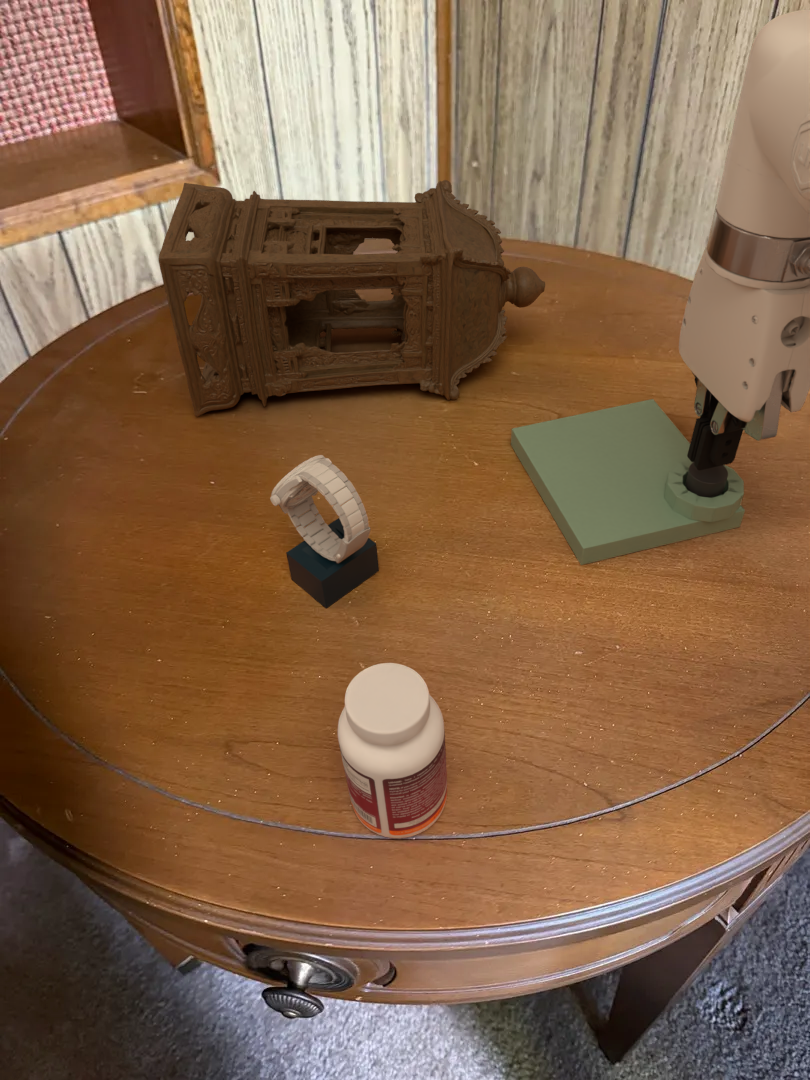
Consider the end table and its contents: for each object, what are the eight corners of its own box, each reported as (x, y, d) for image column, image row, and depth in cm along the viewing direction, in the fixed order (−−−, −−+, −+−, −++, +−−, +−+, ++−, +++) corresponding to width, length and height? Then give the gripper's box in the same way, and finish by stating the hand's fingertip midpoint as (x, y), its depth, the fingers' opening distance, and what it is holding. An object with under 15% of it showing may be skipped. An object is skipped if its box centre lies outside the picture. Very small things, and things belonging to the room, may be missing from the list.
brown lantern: (527, 337, 96) (539, 164, 84) (552, 415, 82) (571, 219, 70) (216, 348, 95) (187, 175, 84) (188, 427, 81) (148, 232, 70)
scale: (748, 529, 69) (758, 497, 67) (583, 569, 67) (587, 538, 65) (654, 414, 81) (660, 383, 78) (510, 444, 78) (512, 414, 76)
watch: (329, 532, 71) (312, 428, 64) (393, 582, 67) (384, 476, 59) (275, 567, 69) (252, 463, 61) (340, 621, 64) (323, 516, 57)
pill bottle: (454, 759, 56) (452, 658, 48) (439, 849, 51) (435, 754, 44) (362, 746, 57) (346, 645, 49) (340, 833, 52) (318, 737, 45)
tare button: (731, 493, 68) (735, 478, 67) (697, 501, 67) (701, 486, 66) (711, 470, 70) (716, 455, 69) (678, 477, 69) (682, 463, 68)
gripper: (900, 285, 49) (807, 513, 62) (759, 184, 60) (705, 398, 73) (785, 308, 48) (715, 535, 61) (661, 201, 58) (624, 415, 72)
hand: (709, 460), depth 67 cm, fingers closed
